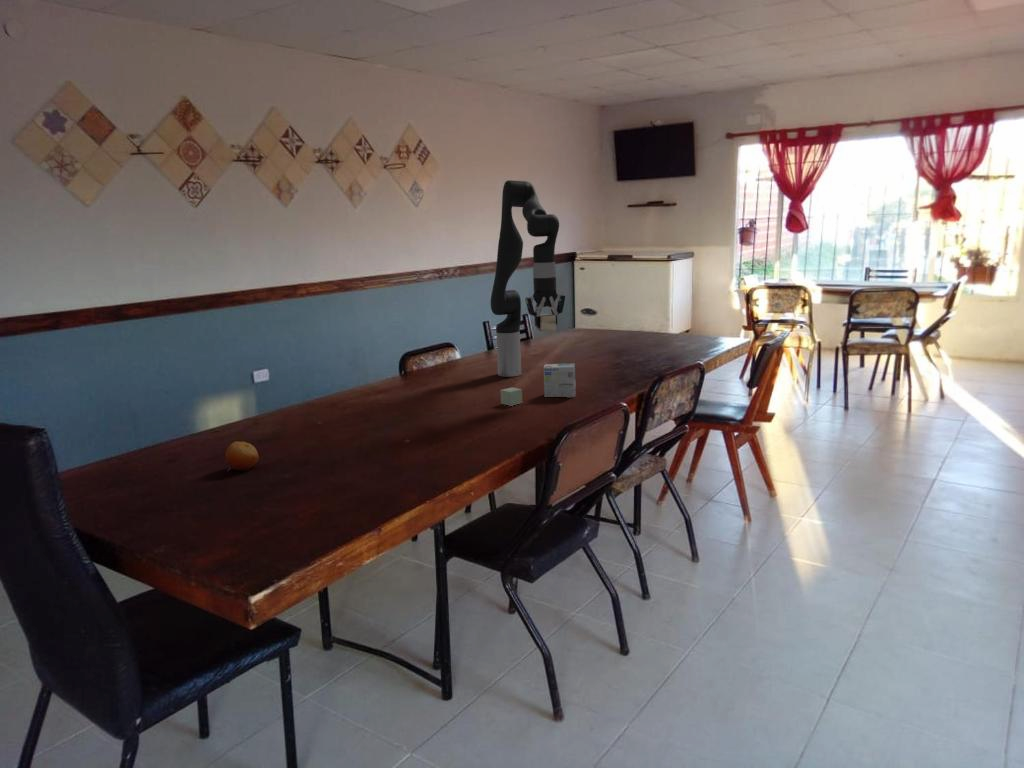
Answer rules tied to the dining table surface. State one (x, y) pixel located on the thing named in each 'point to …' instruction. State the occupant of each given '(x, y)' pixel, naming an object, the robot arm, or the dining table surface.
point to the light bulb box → (559, 380)
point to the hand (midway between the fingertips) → (546, 326)
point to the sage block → (511, 396)
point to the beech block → (547, 322)
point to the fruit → (241, 456)
